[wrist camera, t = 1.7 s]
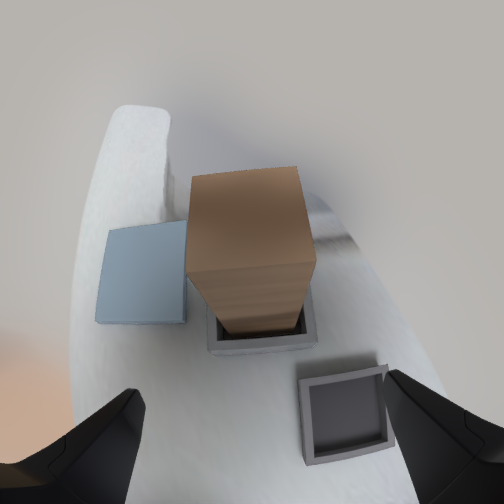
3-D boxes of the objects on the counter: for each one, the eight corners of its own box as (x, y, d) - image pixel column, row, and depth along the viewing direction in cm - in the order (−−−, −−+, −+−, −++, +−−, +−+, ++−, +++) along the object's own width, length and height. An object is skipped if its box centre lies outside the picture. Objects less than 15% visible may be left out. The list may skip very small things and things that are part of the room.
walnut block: (292, 333, 22) (316, 261, 10) (232, 338, 22) (185, 272, 11) (286, 277, 25) (296, 166, 13) (230, 282, 25) (192, 176, 13)
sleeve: (312, 347, 22) (317, 341, 19) (215, 355, 22) (207, 350, 19) (300, 261, 25) (303, 245, 23) (213, 269, 26) (206, 253, 23)
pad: (185, 323, 23) (182, 320, 22) (100, 323, 24) (94, 321, 23) (189, 225, 28) (186, 220, 27) (113, 235, 28) (109, 230, 27)
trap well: (385, 442, 17) (395, 446, 15) (303, 459, 17) (306, 466, 15) (378, 366, 20) (387, 363, 18) (297, 380, 20) (299, 379, 19)
